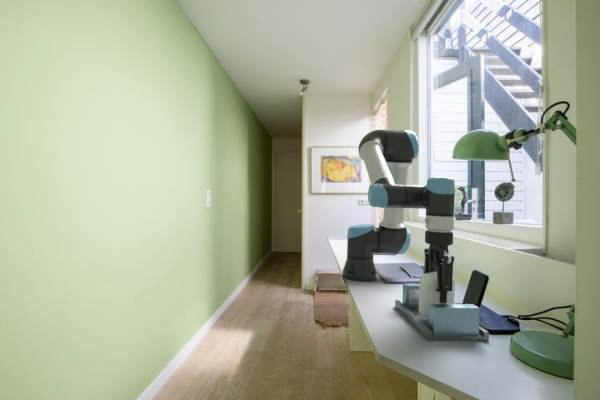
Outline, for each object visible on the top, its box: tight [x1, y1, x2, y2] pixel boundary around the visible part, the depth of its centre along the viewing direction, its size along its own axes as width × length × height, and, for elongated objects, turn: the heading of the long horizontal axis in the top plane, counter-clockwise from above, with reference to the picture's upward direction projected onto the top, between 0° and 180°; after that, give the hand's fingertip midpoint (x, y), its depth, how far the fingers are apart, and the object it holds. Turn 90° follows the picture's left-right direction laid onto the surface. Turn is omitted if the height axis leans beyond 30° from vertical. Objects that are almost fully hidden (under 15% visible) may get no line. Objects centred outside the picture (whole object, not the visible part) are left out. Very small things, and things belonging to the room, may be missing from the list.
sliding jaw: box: [401, 282, 420, 308], centre depth 103 cm, size 3×12×7 cm, turn 93°
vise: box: [394, 299, 490, 342], centre depth 93 cm, size 24×16×8 cm, turn 3°
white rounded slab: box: [419, 272, 456, 316], centre depth 93 cm, size 10×4×12 cm, turn 103°
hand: (436, 309), depth 93 cm, fingers closed on white rounded slab, 5 cm apart
